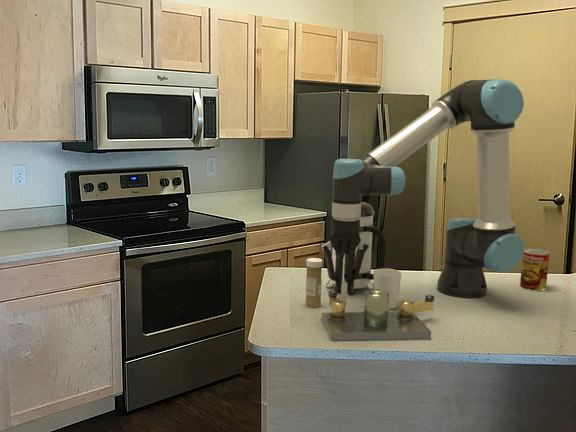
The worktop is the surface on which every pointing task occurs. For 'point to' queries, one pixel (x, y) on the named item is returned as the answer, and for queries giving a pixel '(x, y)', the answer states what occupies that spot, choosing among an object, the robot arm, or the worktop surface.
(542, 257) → the canned food
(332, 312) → the lever
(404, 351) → the worktop surface
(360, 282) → the coffee press
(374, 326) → the base
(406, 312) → the lever
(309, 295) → the sprinkles bottle
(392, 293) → the white cup
